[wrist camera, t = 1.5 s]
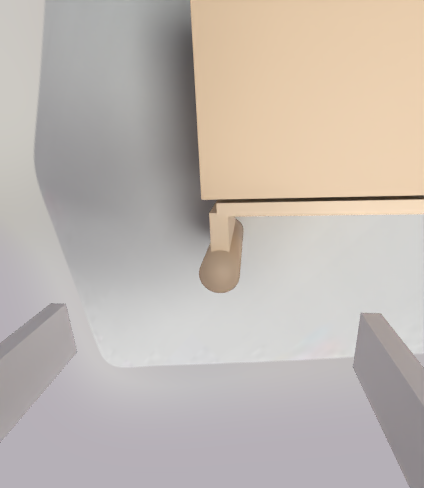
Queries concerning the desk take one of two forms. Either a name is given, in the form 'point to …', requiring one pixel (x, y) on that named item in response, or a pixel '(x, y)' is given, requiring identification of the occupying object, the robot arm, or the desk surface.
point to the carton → (309, 97)
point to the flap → (231, 230)
